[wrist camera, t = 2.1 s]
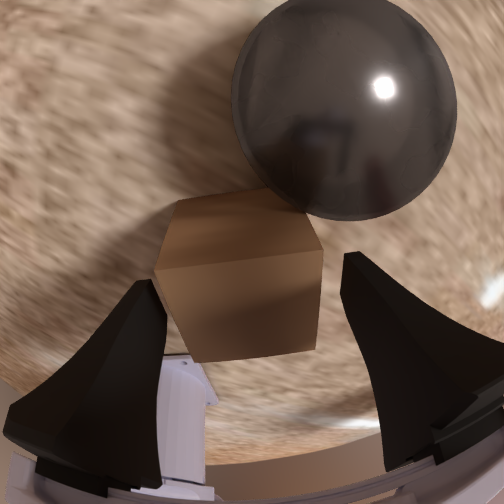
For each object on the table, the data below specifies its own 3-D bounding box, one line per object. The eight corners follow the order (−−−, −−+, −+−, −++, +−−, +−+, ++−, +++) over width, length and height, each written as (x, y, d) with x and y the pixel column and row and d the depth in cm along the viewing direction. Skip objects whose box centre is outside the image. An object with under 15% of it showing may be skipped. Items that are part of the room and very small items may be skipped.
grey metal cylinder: (245, 199, 13) (249, 234, 10) (218, 12, 8) (213, -10, 5) (410, 183, 12) (444, 211, 10) (410, 20, 8) (451, 16, 5)
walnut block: (201, 284, 15) (194, 363, 11) (178, 199, 12) (153, 270, 8) (294, 272, 15) (315, 349, 11) (291, 184, 12) (323, 249, 8)
